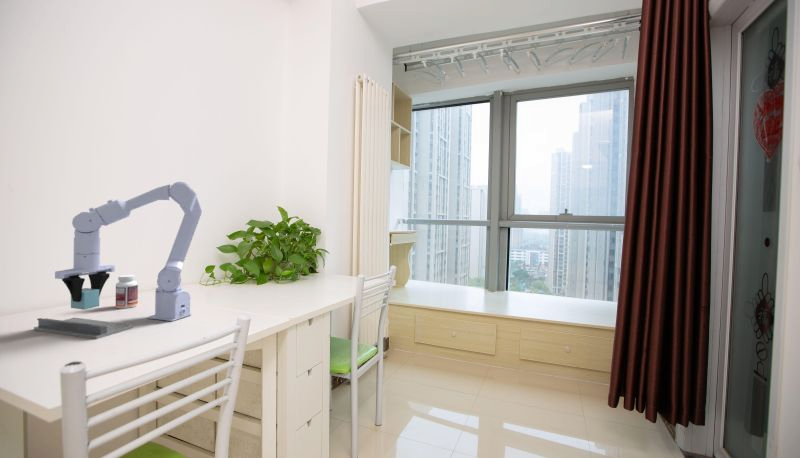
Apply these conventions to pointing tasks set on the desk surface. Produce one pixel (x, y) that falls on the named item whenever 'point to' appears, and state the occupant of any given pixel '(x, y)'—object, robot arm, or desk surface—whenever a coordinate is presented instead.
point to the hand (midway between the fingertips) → (86, 299)
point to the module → (87, 299)
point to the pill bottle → (126, 292)
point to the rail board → (87, 321)
